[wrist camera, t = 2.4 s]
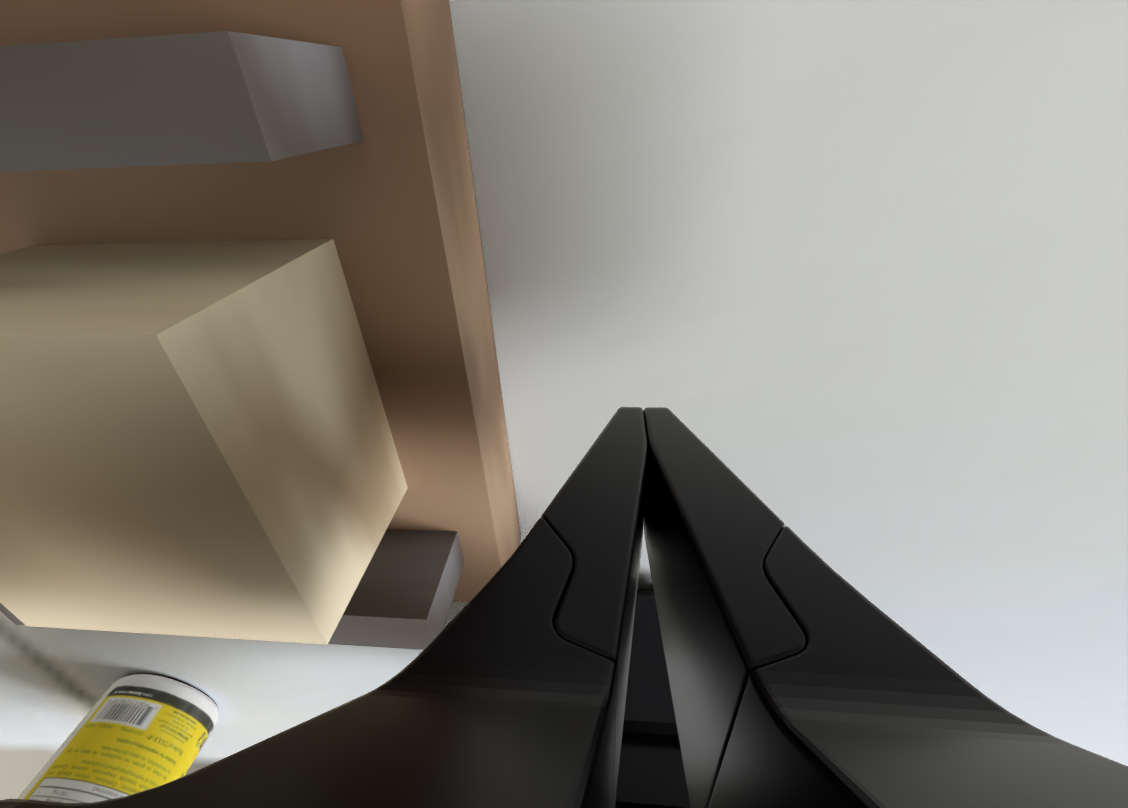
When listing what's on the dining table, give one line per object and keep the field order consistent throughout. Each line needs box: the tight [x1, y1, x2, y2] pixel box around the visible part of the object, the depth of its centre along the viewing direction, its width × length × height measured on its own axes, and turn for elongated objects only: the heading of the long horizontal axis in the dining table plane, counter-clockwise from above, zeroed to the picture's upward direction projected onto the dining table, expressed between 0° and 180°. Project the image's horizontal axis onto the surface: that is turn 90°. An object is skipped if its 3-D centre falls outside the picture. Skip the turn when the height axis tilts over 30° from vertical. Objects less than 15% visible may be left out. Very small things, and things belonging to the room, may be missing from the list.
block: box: [0, 239, 408, 645], centre depth 9 cm, size 6×6×4 cm
